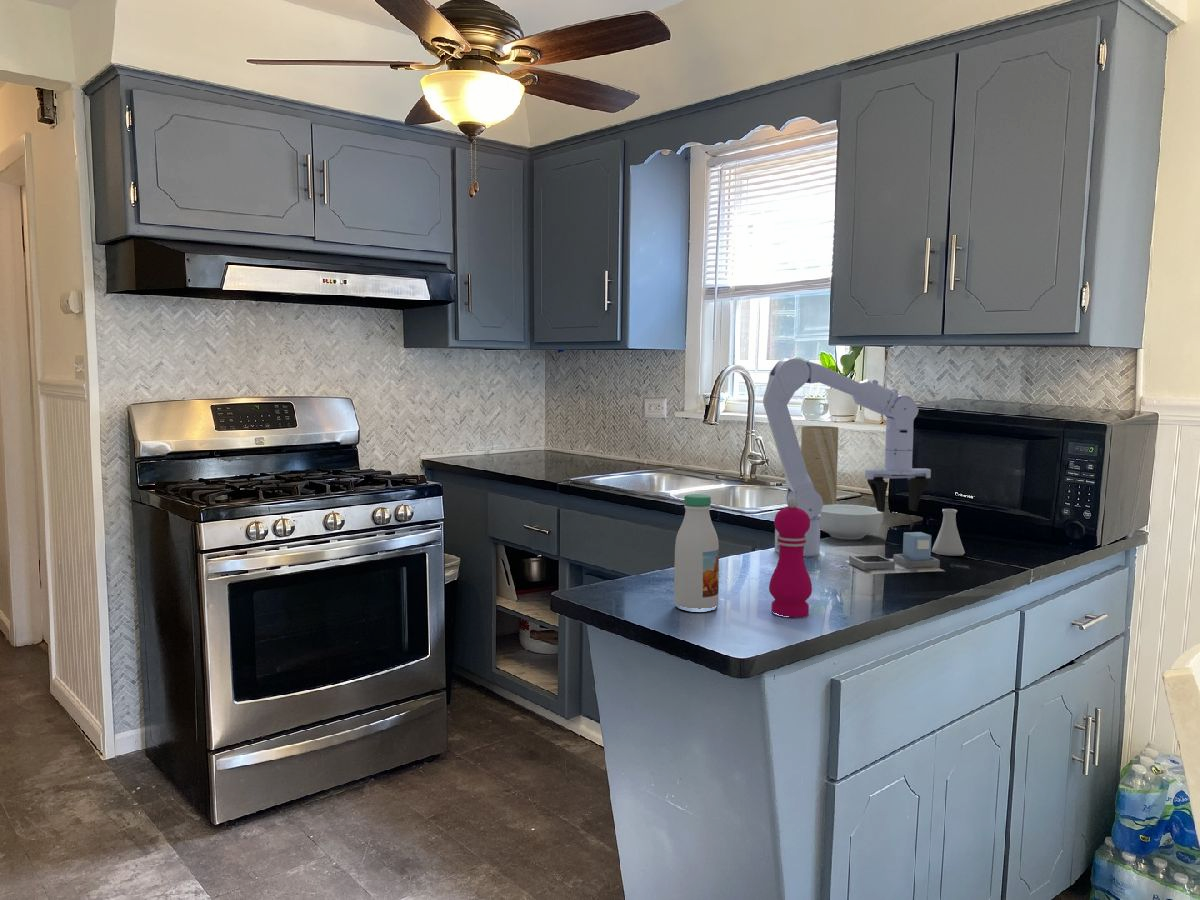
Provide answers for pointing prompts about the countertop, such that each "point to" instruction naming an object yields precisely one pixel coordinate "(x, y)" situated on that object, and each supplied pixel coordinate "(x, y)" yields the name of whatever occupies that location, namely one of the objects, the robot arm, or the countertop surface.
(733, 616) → the countertop surface
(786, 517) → the pepper mill
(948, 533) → the flask
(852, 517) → the cereal bowl
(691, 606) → the milk bottle
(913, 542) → the plug
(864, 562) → the panel
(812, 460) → the tapered wooden vase
